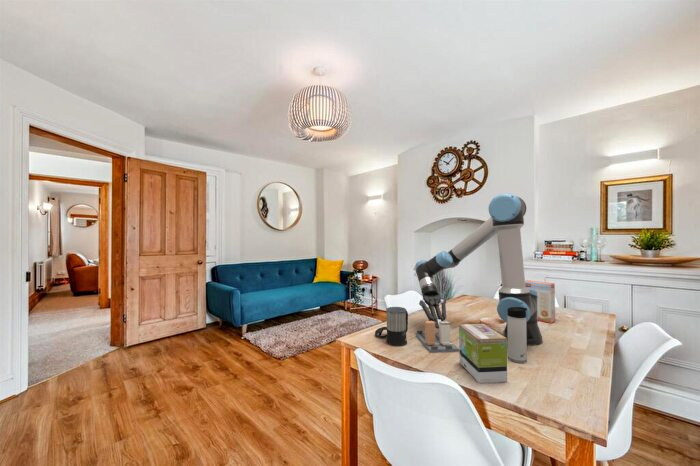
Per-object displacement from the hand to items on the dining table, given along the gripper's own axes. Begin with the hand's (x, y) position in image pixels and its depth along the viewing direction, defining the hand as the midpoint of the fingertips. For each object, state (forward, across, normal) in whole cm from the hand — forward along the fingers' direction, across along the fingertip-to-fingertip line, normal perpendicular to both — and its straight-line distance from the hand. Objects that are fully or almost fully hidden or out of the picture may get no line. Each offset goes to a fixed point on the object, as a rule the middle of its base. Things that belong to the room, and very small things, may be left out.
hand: (442, 334), depth 125 cm
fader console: (+1, +2, -5) cm, 6 cm away
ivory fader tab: (+4, 0, 0) cm, 4 cm away
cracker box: (-18, -67, -25) cm, 74 cm away
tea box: (+21, -4, +14) cm, 25 cm away
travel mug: (+15, -23, +8) cm, 28 cm away
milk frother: (-3, +21, -10) cm, 23 cm away
